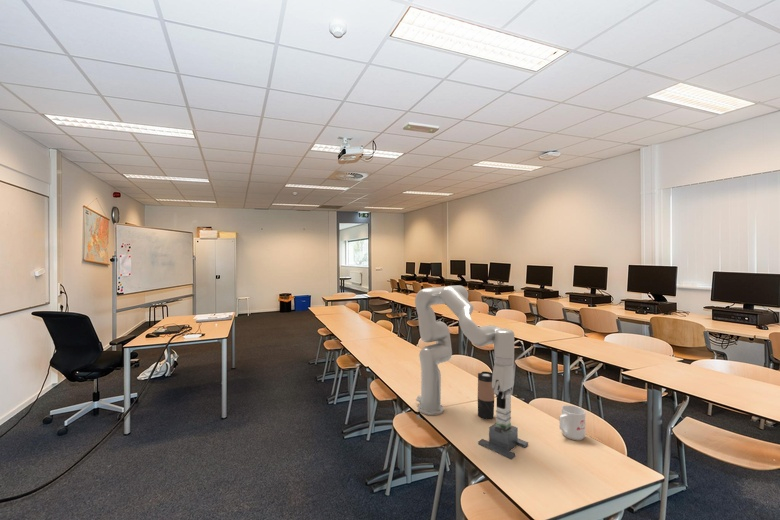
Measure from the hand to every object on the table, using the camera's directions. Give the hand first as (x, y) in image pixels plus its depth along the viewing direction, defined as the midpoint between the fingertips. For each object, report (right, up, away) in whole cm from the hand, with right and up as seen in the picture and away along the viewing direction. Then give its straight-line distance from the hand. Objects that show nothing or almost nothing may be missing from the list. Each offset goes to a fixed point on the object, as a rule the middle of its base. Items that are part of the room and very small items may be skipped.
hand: (503, 405), depth 136 cm
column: (0, -10, 0) cm, 10 cm away
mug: (+31, -16, +7) cm, 35 cm away
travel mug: (0, -16, +25) cm, 29 cm away
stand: (0, -16, 0) cm, 16 cm away
